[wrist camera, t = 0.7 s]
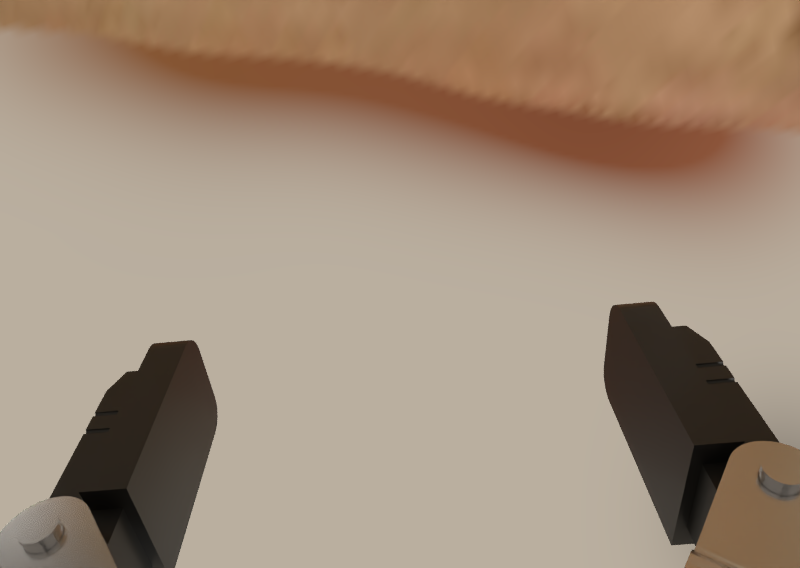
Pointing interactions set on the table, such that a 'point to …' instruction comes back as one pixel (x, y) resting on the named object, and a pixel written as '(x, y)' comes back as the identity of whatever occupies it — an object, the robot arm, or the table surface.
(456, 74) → the table surface
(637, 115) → the table surface
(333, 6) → the table surface
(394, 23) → the table surface
